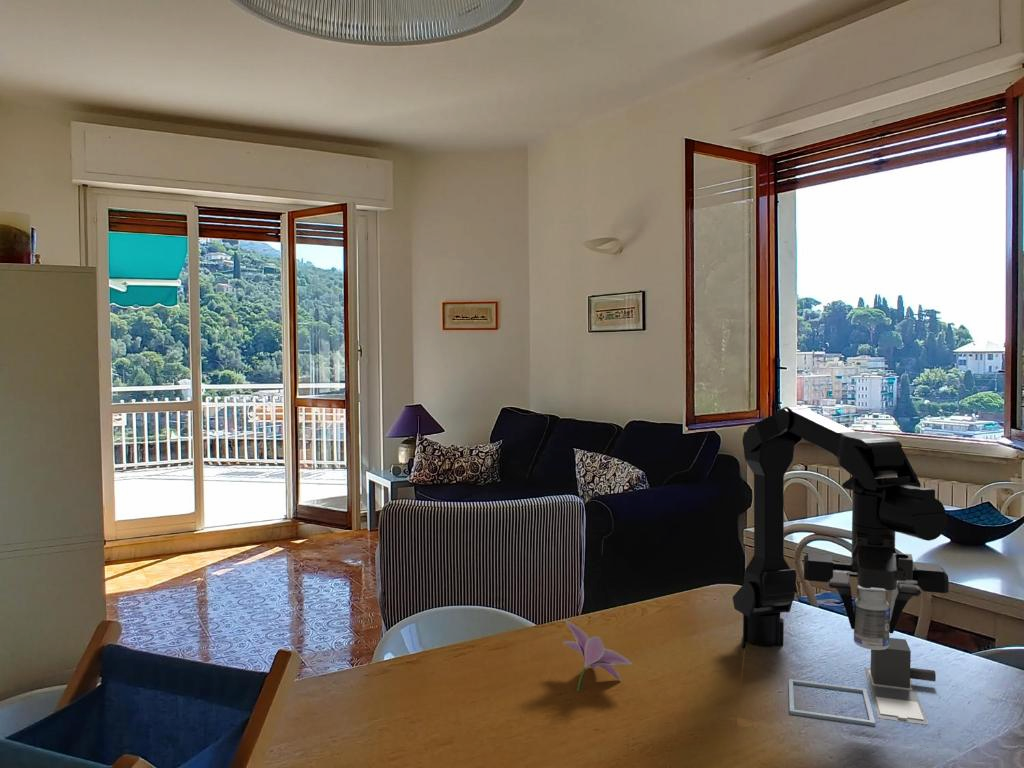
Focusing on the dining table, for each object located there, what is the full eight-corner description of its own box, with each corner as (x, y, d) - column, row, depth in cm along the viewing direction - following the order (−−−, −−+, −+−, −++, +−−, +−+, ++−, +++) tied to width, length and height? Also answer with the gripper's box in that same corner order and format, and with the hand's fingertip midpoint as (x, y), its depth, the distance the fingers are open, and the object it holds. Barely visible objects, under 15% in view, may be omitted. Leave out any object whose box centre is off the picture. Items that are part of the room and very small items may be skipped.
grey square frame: (789, 718, 112) (789, 710, 112) (788, 686, 123) (788, 678, 122) (875, 731, 108) (875, 722, 108) (866, 696, 119) (866, 689, 119)
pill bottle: (892, 652, 110) (894, 593, 110) (857, 649, 112) (858, 591, 111) (884, 639, 115) (885, 583, 115) (850, 637, 116) (851, 581, 116)
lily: (635, 706, 118) (647, 642, 122) (567, 685, 115) (582, 620, 119) (598, 699, 129) (610, 640, 132) (535, 679, 126) (550, 620, 129)
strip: (877, 723, 111) (877, 715, 111) (864, 672, 128) (864, 666, 128) (928, 730, 108) (929, 722, 108) (908, 677, 126) (908, 671, 125)
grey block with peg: (874, 684, 121) (875, 647, 121) (870, 672, 126) (871, 635, 126) (937, 692, 118) (938, 654, 118) (931, 679, 123) (932, 642, 123)
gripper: (805, 531, 108) (803, 642, 109) (957, 542, 102) (954, 659, 103) (804, 515, 119) (803, 616, 119) (942, 524, 112) (940, 631, 113)
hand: (871, 630), depth 113 cm, fingers closed on pill bottle, 5 cm apart
